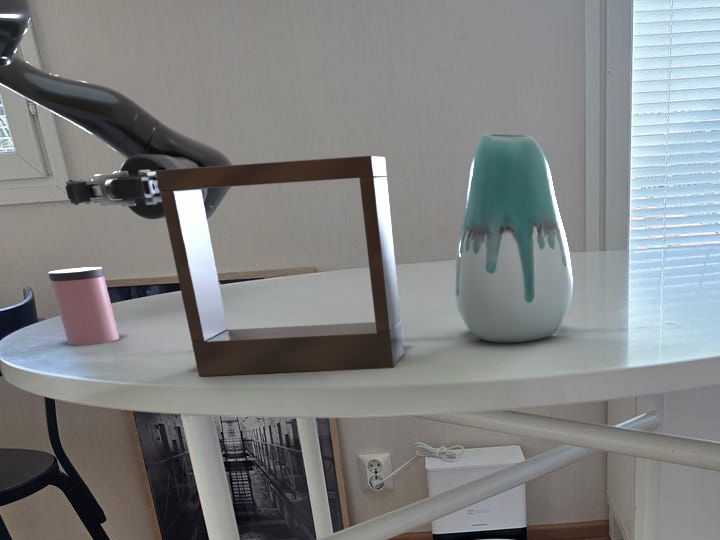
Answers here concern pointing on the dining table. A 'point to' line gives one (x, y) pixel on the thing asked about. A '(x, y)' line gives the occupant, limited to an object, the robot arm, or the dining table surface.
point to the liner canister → (84, 305)
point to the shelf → (281, 344)
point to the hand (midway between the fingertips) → (105, 190)
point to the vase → (511, 244)
